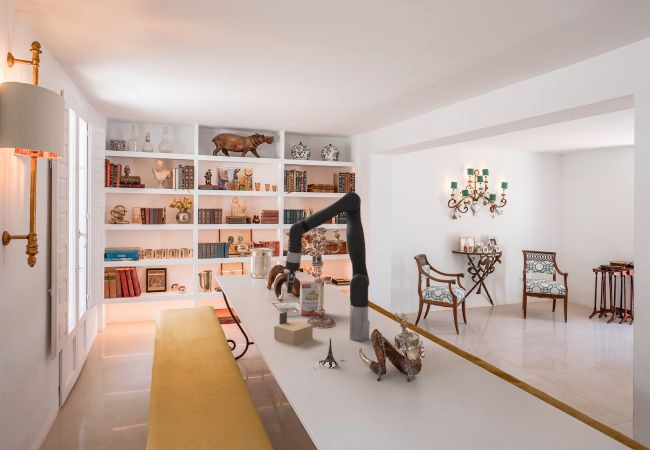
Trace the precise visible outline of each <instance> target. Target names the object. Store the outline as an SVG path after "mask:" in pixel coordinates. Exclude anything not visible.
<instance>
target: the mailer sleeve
mask: <svg viewBox="0 0 650 450" xmlns="http://www.w3.org/2000/svg"><path fill="white" fill-rule="evenodd" d="M274 327H275V338H274V340H275V341H279V342H281V343H285V344H287V345H290V346H296V345H300V344H302V343H304V342H307V341H310V340H312V339H314V338H313V336H314V335H313V334H314V331H313V330H314V329H313V327H314V325H313V324H310V323H306V322H302V321H298V320H295V319H294V320H291V321H287V323H283V324H280V325H279V324H276V325H275V326H274Z"/></svg>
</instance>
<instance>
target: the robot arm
mask: <svg viewBox="0 0 650 450" xmlns="http://www.w3.org/2000/svg"><path fill="white" fill-rule="evenodd" d="M361 201H362V200H361V197H360V195H359V194H358V193H356V192H353V191H348V192H346V193H345V194H344V195H342V197H340V198H339V199H338V200H336V201H335V202H333V203H332V204H330V205H328V206H327V207H324V208H322V209H320V210H317V211H316V212H314V213H311V214H310V215H309V216H307V217H305V218H303V219H302V220H300V221H297V222H295V223H293V224H292V225H290V227H289V231H288V232H289V237H288V240H289V242H288V249H287V254H286V260H285V270H287V271H289V272H287V291H286V293H287V294H292V290H293V287H294V282H295V278H296V272H298V271H300V268H301V261H302V251H303V242H302V240H303V235H305V234H306V233H308V232H309V231H311V230H314V229H316V228H319V226H322V225H324V224H326V223H328V222H329V221H330V220H332V219H333V218H335V217H337V216H339V215H341V214H343V213H345V216H346V235H345V236H346V246H347V252H348V256H349V259H350V261H351V268H352V270H351V271H352V272H351V273H352V275H351V277H352V278H351V280H350V283H349V302H350V305H349V306H350V308H349V309H350V311H349V312H350V313H349V339H350V340H352V341H355V342H364V341H365V342H366V341H367V340H369V339H370V322H371V321H370V320H369V286H370V278H369V273H368V269H367V262H366V261H367V254H366V253H367V252H366V250H367V249H366V239H365V238H366V237H365V232H364V226H363V223H362V213H361V211H362V209H361V204H362V202H361Z"/></svg>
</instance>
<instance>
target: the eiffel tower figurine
mask: <svg viewBox="0 0 650 450" xmlns="http://www.w3.org/2000/svg"><path fill="white" fill-rule="evenodd" d="M332 348H333V347H332V338H331V336H330V337H329V346H328V353H327V356H326V358H325V359H324V360H323V359H322V360H321V361H319V364H320V363H323V362H324V363H323V364H322V365H324V364H325V363H326V362H329V365H330V368H329V369H332V368H331V367H332V362H333V363H335V365H338V366H339V364H338V362H337V361H335V360H336V359H335V358H334V353H333V350H332Z"/></svg>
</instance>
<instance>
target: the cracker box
mask: <svg viewBox="0 0 650 450" xmlns="http://www.w3.org/2000/svg"><path fill="white" fill-rule="evenodd" d="M299 281H300V283H299V284H300V286H299V315H300V316H302V317H303V316H318V315H317V312H316V311H317V309H318V289H317V284H316V282H315V279H313V280H312V279H311V280H310V279H309V280H299ZM324 293H325V281H323V283H322V308H323V309H324V296H325V295H324Z"/></svg>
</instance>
